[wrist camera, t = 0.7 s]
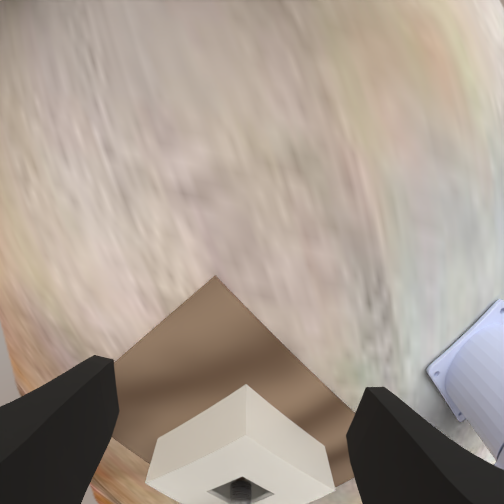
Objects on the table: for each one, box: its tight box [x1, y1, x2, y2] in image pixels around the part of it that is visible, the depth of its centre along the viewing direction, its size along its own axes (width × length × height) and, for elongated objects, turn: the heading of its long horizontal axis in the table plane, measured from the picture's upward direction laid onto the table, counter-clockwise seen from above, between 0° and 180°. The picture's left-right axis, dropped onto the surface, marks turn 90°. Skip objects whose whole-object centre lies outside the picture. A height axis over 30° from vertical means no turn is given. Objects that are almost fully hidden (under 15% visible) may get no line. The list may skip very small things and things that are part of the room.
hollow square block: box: [145, 384, 336, 504], centre depth 19 cm, size 9×9×5 cm
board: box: [112, 276, 355, 487], centre depth 21 cm, size 22×16×1 cm
